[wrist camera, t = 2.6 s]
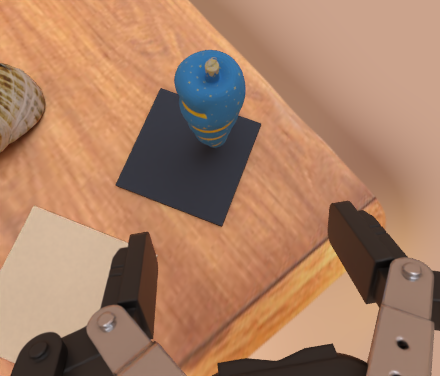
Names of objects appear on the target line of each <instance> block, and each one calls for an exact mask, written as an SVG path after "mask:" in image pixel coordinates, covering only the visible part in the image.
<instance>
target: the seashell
mask: <svg viewBox="0 0 440 376" xmlns="http://www.w3.org/2000/svg"><path fill="white" fill-rule="evenodd" d="M44 108H45V101H44V98H43V94H42V91H41V90H40V88H39V87H38V86H37V84H36V83H35V82H34V81H33V80H32V79H31V78H30V77H29V76H28V75H27V74H26V73H25V72H24V71H22V70H20V69H18V68H14V67H12V66H10V65H7V64H3V63H0V152H2V151H3V150H4V149H5V148H6V147H7V145H8V144H10V143H12V142H14V141H16V140H17V139H18V138H19V137H21V136H22V135H24V134H25V133H26V132H28V130H29V129H31V128H32V127H33V126H34V125H35V124H36V123H37V122H38V121H39V120H40V118H41V117H42V115H43V112H44Z"/></svg>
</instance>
